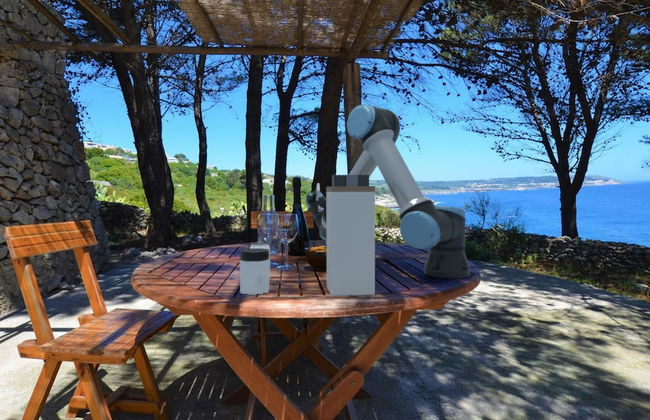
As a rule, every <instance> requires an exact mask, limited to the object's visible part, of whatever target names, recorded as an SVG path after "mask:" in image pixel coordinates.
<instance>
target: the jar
mask: <svg viewBox="0 0 650 420" xmlns="http://www.w3.org/2000/svg"><path fill="white" fill-rule="evenodd" d="M239 252H240V253H239V254H240V255H239V256H240V260H239V284H240V285H239V289H240V290H239V293H240V294H241V295H246V294H247V295H248V296H258V295H257V294H260V295H264V294H263V293H267V294H269V292H270V279H269V250H268V249H262V248H252V249H250V248H244V249H241V250H240V251H239ZM247 295H246V296H247Z"/></svg>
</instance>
